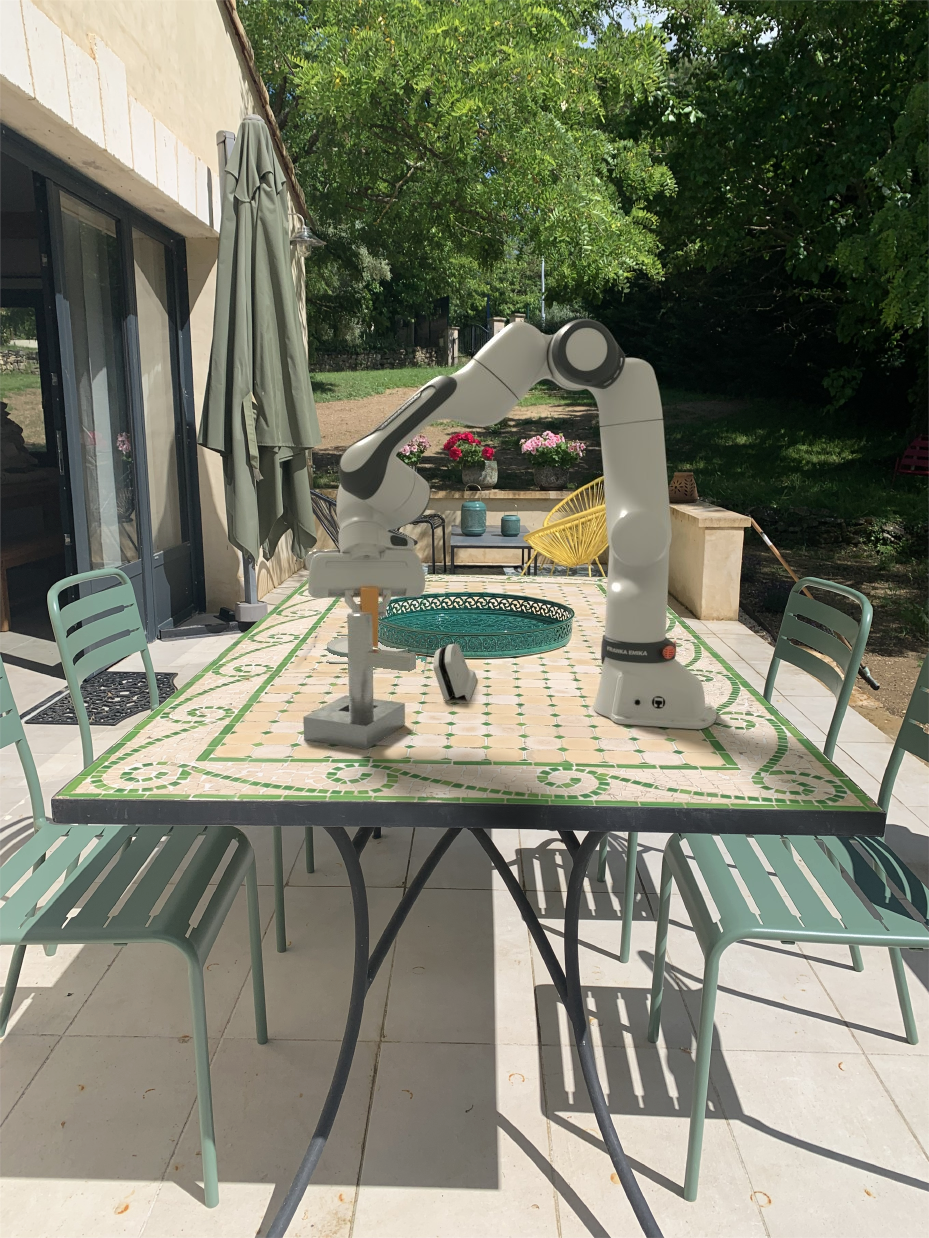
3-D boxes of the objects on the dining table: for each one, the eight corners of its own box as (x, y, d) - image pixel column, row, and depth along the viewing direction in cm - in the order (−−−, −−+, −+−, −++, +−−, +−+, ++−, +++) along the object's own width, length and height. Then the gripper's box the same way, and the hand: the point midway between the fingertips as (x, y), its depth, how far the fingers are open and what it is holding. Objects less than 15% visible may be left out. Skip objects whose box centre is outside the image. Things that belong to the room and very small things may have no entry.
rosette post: (443, 730, 157) (443, 606, 153) (407, 756, 145) (407, 621, 140) (346, 716, 165) (343, 597, 160) (304, 739, 152) (300, 611, 147)
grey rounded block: (469, 701, 174) (452, 653, 173) (446, 708, 175) (429, 660, 173) (477, 678, 191) (461, 634, 189) (456, 684, 191) (440, 641, 190)
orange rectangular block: (376, 642, 156) (376, 586, 154) (378, 646, 154) (378, 589, 152) (360, 643, 156) (360, 586, 154) (361, 647, 153) (361, 589, 151)
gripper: (305, 539, 156) (307, 605, 148) (422, 539, 160) (430, 604, 152) (304, 560, 161) (306, 626, 153) (417, 560, 165) (425, 624, 158)
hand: (369, 615), depth 153 cm, fingers closed on orange rectangular block, 3 cm apart
